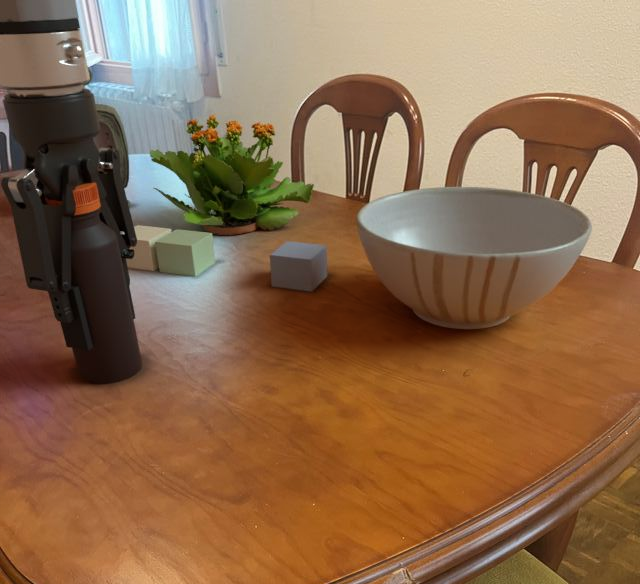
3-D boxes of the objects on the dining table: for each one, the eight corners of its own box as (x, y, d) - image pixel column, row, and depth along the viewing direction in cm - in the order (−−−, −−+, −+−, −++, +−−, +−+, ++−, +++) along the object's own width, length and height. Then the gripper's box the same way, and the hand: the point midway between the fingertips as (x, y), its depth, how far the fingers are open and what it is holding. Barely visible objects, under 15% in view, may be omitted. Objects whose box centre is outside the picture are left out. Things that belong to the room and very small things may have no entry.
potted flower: (241, 261, 100) (229, 138, 91) (126, 239, 110) (105, 126, 101) (321, 217, 118) (319, 111, 109) (216, 202, 128) (206, 103, 119)
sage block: (160, 275, 96) (154, 241, 94) (181, 261, 101) (176, 229, 98) (196, 279, 95) (191, 245, 92) (216, 265, 99) (212, 232, 96)
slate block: (271, 290, 91) (269, 254, 88) (288, 274, 95) (287, 240, 93) (312, 295, 89) (310, 259, 86) (327, 279, 94) (327, 245, 91)
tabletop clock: (57, 217, 122) (20, 64, 108) (61, 204, 129) (27, 59, 115) (137, 210, 124) (111, 60, 110) (137, 198, 132) (112, 56, 118)
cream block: (120, 269, 99) (113, 237, 96) (143, 256, 103) (137, 224, 100) (154, 274, 97) (148, 241, 94) (176, 260, 101) (171, 228, 99)
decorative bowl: (451, 385, 68) (463, 274, 62) (316, 300, 87) (313, 208, 81) (619, 323, 80) (644, 223, 73) (467, 260, 99) (476, 176, 92)
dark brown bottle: (155, 364, 74) (121, 179, 62) (116, 393, 69) (72, 197, 57) (107, 354, 76) (66, 173, 65) (66, 381, 71) (13, 190, 60)
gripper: (-4, 108, 48) (70, 382, 61) (148, 76, 63) (181, 300, 76) (-80, 105, 50) (7, 369, 63) (83, 75, 65) (127, 292, 78)
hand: (102, 331), depth 69 cm, fingers closed on dark brown bottle, 7 cm apart
